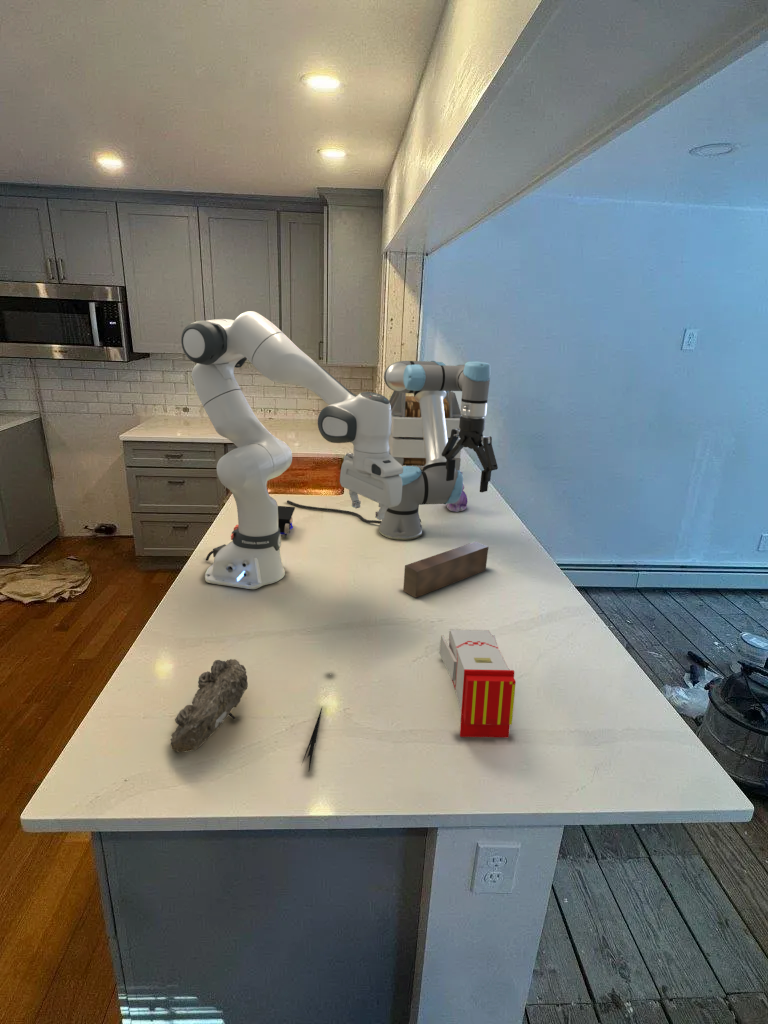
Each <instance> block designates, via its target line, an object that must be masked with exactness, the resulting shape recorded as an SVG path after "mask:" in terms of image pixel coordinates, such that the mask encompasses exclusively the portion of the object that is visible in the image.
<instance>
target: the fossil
mask: <svg viewBox="0 0 768 1024" xmlns="http://www.w3.org/2000/svg"><path fill="white" fill-rule="evenodd" d="M197 683H198V684H197V687H198V690H197V691H196V693H195V694H194V697H193V698H192V701H191V704H187V705H185V706H184V707H183V708H182V709H181V710H179V712H178V713H177V715H176V717H175V719H174V721H175V723H176V725H177V726H176V728H175V730H174V731H173V732H172V733H171V735H170V736H171V738H170V747H171V750H172V751H176V752H178V753H186V752H190V751H193V752H195V751H197V750H198V749H199V748H200V747H201V746H202V745H203V744H204V743H205V742H207V741H208V740H209V739H210V737H211V736H212V735H213V734H215V733H216V731H218V730H219V729H220V728H221V726H222V725H223V723H224V721H225V720H226V719H227V718H228V717H230V718H232V720H235V719H236V716H235V715H234V714H233V713H232V710H233V709H235V708H237V706H238V705H239V704H240V702H241V700H242V698H243V696H244V693H245V691H246V690H247V689H248V686H249V685H248V675H247V669H246V668H245V666H244V665H243V664H241V663H240V661H238V660H237V659H236V658H234V659H232V658H230V659H226V660H221V659H216V660H214V661H213V662H212V665H211V667H210V671H208V670H207V671H205V672H201V674H200V675H199V676H198V681H197Z"/></svg>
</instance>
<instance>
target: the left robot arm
mask: <svg viewBox="0 0 768 1024" xmlns="http://www.w3.org/2000/svg"><path fill="white" fill-rule="evenodd" d="M180 343H181V348H182V351H183V353H184V354H185V356H186V357H187V358H188V360H190V361H191V362H192V363H195V365H194V367H193V368H192V370H191V379H192V382H193V386H194V388H195V392H196V394H197V396H198V399H199V401H200V403H201V405H202V407H203V409H204V411H205V413H206V415H207V417H208V419H209V420H210V422H211V424H212V426H213V428H214V430H215V431H216V433H217V434H218V435H219V436H221V437H222V438H225V439H227V440H229V442H232V444H234V445H235V446H236V448H233V449H231V450H230V451H228V452H227V453H225V454H224V455H223V456H221V457H220V458H219V460H218V461H217V463H216V475H217V478H218V480H219V482H220V484H221V485H222V486H223V487H225V488H226V489H227V490H229V491H230V492H231V494H232V497H233V499H234V501H235V504H236V510H237V524H236V525H235V526H234V527H233V530H232V532H231V535H230V540H231V541H230V542H229V543H227V544H224V543H223V544H222V545H218V546H217V547H214V548H212V550H211V551H209V553H208V554H206V555H207V556H206V557H205V562H209V559H210V558H211V556H212V557H213V561H212V564H210V566H209V567H208V568H207V570H206V572H205V573H204V580H205V582H206V583H207V584H208V583H209V584H214V585H220V586H228V587H233V588H234V587H235V588H241V589H248V590H256V589H259V588H261V587H263V586H267V585H272V584H275V583H276V582H279V581H281V580H283V578H284V577H285V575H286V571H285V568H284V565H283V560H282V556H281V545H282V541H281V539H282V537H281V534H280V528H279V527H278V506H279V504H278V501H277V500H276V499H274V498H273V497H272V496H271V495H270V493H269V491H268V486H267V484H268V481H270V480H272V479H275V478H277V477H279V476H281V475H282V474H283V473H285V472H286V471H287V470H288V469H289V468H290V466H291V465H292V462H293V453H292V449H291V448H290V445H288V443H286V442H285V441H284V440H282V439H280V438H278V437H277V436H275V435H274V434H272V433H271V432H270V431H269V430H268V428H267V427H265V425H264V424H263V423H262V422H261V421H260V420H259V418H258V417H257V416H256V414H255V412H254V411H253V409H252V407H251V405H250V404H249V402H248V400H247V398H246V396H245V394H244V392H243V390H242V389H241V387H240V384H239V383H238V381H237V379H236V377H235V372H234V371H235V368H241V367H243V366H244V364H245V363H246V361H247V360H248V362H249V363H250V364H251V365H252V366H253V367H254V368H255V369H256V370H257V371H258V372H259V373H260V374H261V375H262V376H264V377H265V378H267V379H268V380H270V381H272V382H274V383H275V384H281V385H289V386H291V385H292V386H297V387H302V388H303V389H304V388H305V389H307V390H308V391H311V392H313V393H314V394H315V395H317V397H319V398H320V399H321V400H322V401H324V402H325V404H327V406H325V407H324V408H322V409H321V410H320V412H319V414H318V417H317V428H318V431H319V433H320V435H321V436H322V438H323V439H324V440H325V441H327V442H329V443H333V444H347V443H351V444H352V445H353V446H352V447H353V451H352V452H347V453H346V454H345V455H344V456H343V462H342V464H341V468H340V474H339V484H340V486H341V487H342V488H344V489H346V490H348V494H349V497H350V500H351V507H352V508H353V509H360V508H361V502H362V501H361V500H360V499H359V496H362V497H364V498H366V499H368V500H371V501H373V502H375V503H377V504H378V507H379V509H378V510H377V511H375V519H377V520H378V521H382V519H384V516H385V512H386V510H387V509H388V507H389V508H390V507H395V506H398V505H399V504H400V502H401V498H402V479H401V476H400V475H399V474H402V473H403V466H402V465H401V464H400V463H399V462H397V461H396V460H395V459H394V458H393V457H392V455H390V454H389V451H390V447H389V436H390V434H391V405H390V402H389V400H390V399H388V398H387V397H386V396H385V395H383V394H380V393H378V392H372V391H361V392H359V394H355V393H354V392H352V391H351V390H349V389H348V388H347V387H346V386H344V385H343V384H342V383H341V382H340V381H339V380H338V379H336V378H335V377H334V376H333V375H332V374H330V373H329V372H328V371H327V370H326V369H325V368H324V367H322V366H321V365H320V364H318V363H317V362H316V361H315V360H314V359H312V358H311V357H310V356H308V354H307V353H305V352H304V351H303V350H302V349H301V348H299V347H298V346H297V345H296V344H295V343H294V342H293V341H292V340H291V339H290V338H289V337H288V336H287V335H286V334H285V333H284V332H283V331H282V330H281V329H280V328H278V326H276V324H274V323H273V322H272V321H270V320H269V319H267V318H266V317H265V316H263V315H262V314H260V313H259V312H256V311H254V310H247V311H244V312H242V313H240V314H239V315H238V316H236V318H235V319H229V318H215V319H208V320H204V319H203V320H202V319H201V320H196V321H193V322H191V323H189V324H188V325H186V326H185V327H184V329H183V330H182V333H181V336H180Z"/></svg>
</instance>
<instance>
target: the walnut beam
mask: <svg viewBox="0 0 768 1024" xmlns="http://www.w3.org/2000/svg"><path fill="white" fill-rule="evenodd" d="M488 554H489V546H488V545H485V544H483V543H480V542H478V541H473V542H470V543H467V544H464V545H461V546H458V547H455V548H452V549H450V550H447V551H443V552H440V553H438V554H434V555H431V556H429V557H426V558H423V559H420V560H417V561H414V562H410V563H408V564H405V565H404V576H403V592H404V593H405V594H408V595H409V596H411V597H413V598H415V599H417V598H419V597H422V596H424V595H427V594H429V593H432V592H435V591H437V590H439V589H440V590H441V589H443V588H445V587H447V586H450V585H453V584H455V583H457V582H459V581H462V580H465V579H467V578H471V577H472V576H475V575H477V574H480V573H483V572H485V571H487V563H488V556H489V555H488Z"/></svg>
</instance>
